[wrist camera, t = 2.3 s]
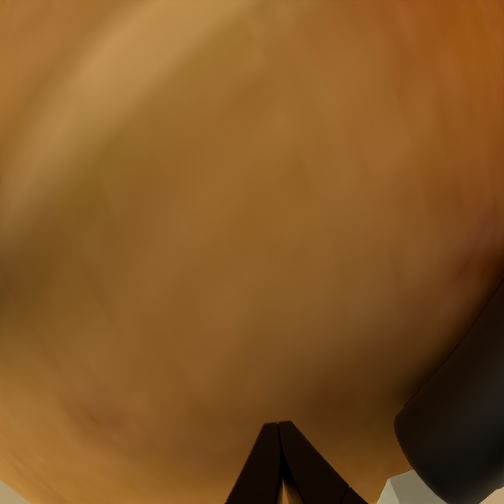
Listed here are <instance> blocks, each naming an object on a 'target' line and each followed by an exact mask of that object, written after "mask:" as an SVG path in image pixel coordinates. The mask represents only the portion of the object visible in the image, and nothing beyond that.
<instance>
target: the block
mask: <svg viewBox="0 0 504 504" xmlns="http://www.w3.org/2000/svg"><path fill="white" fill-rule="evenodd" d="M377 504H447V503H446V502H444V501H443V500H441V499H440V498H439V497H438V496H437V495H435V494H434V493H433V492H432V491H431V489H430V488H429V487H428V486H427V485H426V484H425V483H424V482H423V481H422V479H421V478H420V477H419V476H418V475H417V473H416V472H415V470H414V469H413V470H411V471H408V472H405V473H402V474H399V475H396V476H393V477H390V478H388V480H387V482H386V485H385V487H384V489H383V491H382V493H381V496H380V498H379V500H378V502H377Z"/></svg>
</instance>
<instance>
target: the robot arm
mask: <svg viewBox="0 0 504 504" xmlns="http://www.w3.org/2000/svg"><path fill="white" fill-rule="evenodd" d="M283 483H284V487H285V491H286V494H287V498H288V502H289V504H368V503H367V502H366V501H365V500H364V499H362V498H361V497H360V496H359V495H358V494H357V493H356V492H355V491H354V490H353V489H352V488H351V487H349V485H348V484H347V483H346V482H345V481H344V479H343V478H342V477H341V476H340V475H339V474H338V473H337V472H336V471H335V470H334V469H333V468H332V467H331V466H330V464H329V463H328V462H327V461H326V460H325V459H324V458H323V457H322V456H321V455H320V453H319V452H318V451H317V450H316V449H315V448H314V447H313V446H312V444H311V443H310V442H309V441H308V440H307V439H306V438H305V436H304V435H303V434H302V433H301V432H300V431H299V430H298V428H297V427H296V426H295V425H294V424H293V422H291V421H281V422H278V425H277V423H276V422H272V423H265V424H263V426H262V428H261V430H260V433H259V435H258V437H257V439H256V441H255V444H254V446H253V448H252V450H251V452H250V454H249V456H248V458H247V460H246V463H245V465H244V467H243V469H242V471H241V473H240V475H239V477H238V479H237V481H236V483H235V485H234V487H233V489H232V491H231V493H230V494H229V496H228V498H227V500H226V501H227V502H225V504H282V496H283Z"/></svg>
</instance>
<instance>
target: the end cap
mask: <svg viewBox="0 0 504 504" xmlns="http://www.w3.org/2000/svg"><path fill="white" fill-rule="evenodd" d="M394 428H395V433H396V436H397V439H398V442H399V445H400V447H401V449H402V451H403V453H404V455H405V456H406V458H407V460H408V461H409V463H410V465H411V466H412V467H413V469H414V470H415V472H416V473H417V475H418V476H419V477H420V478H421V479H422V481H423V482H424V483H425V484H426V485H427V486H428V487H429V488H430V489H431V491H432V492H433V493H434V494H435V495H437V496H438V497H439V498H440V499H441V500H443V501H444V502H446V503H447V504H479V503H480V502H482V501H483V500H484V499H485V498H487V497H488V496H489V495H490V494H491V493H493V492H494V491H495V490H496V489H500V488H502V487H503V486H504V279H503V280H502V282H501V284H500V285H499V287H498V289H497V290H496V292H495V294H494V295H493V297H492V298H491V300H490V301H489V303H488V304H487V306H486V307H485V309H484V310H483V312H482V313H481V315H480V316H479V318H478V319H477V320H476V322H475V323H474V325H473V326H472V327H471V329H470V330H469V332H468V333H467V334H466V336H465V337H464V338H463V339H462V341H461V342H460V343H459V345H458V346H457V347H456V348H455V350H454V351H453V352H452V353H451V355H450V356H449V357H448V358H447V359H446V361H445V362H444V363H443V364H442V365H441V366H440V368H439V369H438V370H437V371H436V372H435V373H434V374H433V376H432V377H431V378H430V379H429V380H428V381H427V382H426V383H425V384H424V385H423V386H422V388H421V389H420V390H419V391H418V392H417V393H416V394H415V395H414V396H413V397H412V398H411V399H410V400H409V401H408V402H407V403H406V404H405V405H404V409H402V410H401V411H400V412H399V413H398V415H397V416H396V418H395V422H394Z"/></svg>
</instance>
